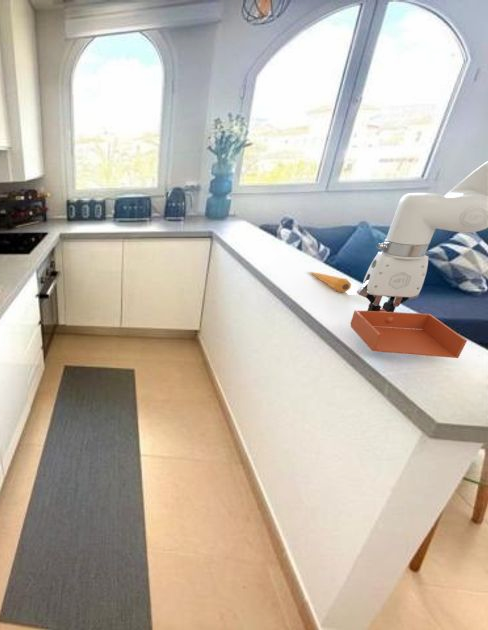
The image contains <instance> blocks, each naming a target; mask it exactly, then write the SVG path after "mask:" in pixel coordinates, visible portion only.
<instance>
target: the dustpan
mask: <svg viewBox="0 0 488 630" xmlns="http://www.w3.org/2000/svg"><path fill="white" fill-rule="evenodd" d="M369 305H370V303H368V305H367V306H368V307H369ZM379 306H381V305H380V304H379ZM349 325H350V328H351V329H352V330H353V331H354V332H355V334H357V336H358V337H359V338H360V339H361V340H362V342H364V344H365V345H366V346H367V347H368V349H370V351H372V352H373V353H374V352H375V353H389V354H399V355H402V354H403V355H413V356H425V357H438V358H452V359H459V357H460V356H461V354H462V352H463V349H464V348H465V346H466V344H467V341H468V339H467V338H465V337H463V336H462V335H460V334H459V333H458V332H456V331H455V330H454V329H452V328H451V327H449V326H448V325H446V324H445V323H444V322H442V321H441V320H439V319H438V318H436V317H435V316H434V315H432V314H431V313H417V312H401V311H400V312H398V311H394V312H387V311H386V310H385V309H383V306H381V308H380V311H367V310H360V309H359V310H358V309H355V310H354V311H353V313H352V316H351V320H350V323H349Z"/></svg>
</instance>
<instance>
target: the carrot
mask: <svg viewBox="0 0 488 630" xmlns="http://www.w3.org/2000/svg"><path fill="white" fill-rule="evenodd" d="M310 273H311V274H312V275H313V276H314V277H315V278H316V279H318V280H319V281H321V282H322V283H324V284H325V285H327V286H329V287H330V288H331V289H333V290H335V291H336V292H339V293H341V292H342V293H344V292H345V293H346V292H348V291H349V290H350V289H351V286H352V283H351V282H350V281H349V280H348V279H347V278H345V277H344V278H343V277H338V276H336V275H329V274H324V273H321V272H311V271H310Z"/></svg>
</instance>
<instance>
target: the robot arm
mask: <svg viewBox="0 0 488 630" xmlns="http://www.w3.org/2000/svg"><path fill="white" fill-rule="evenodd" d="M437 229H438V230H443V231H444V230H445V231H450V232H454V233H455V232H456V233H463V234H464V233H466V234H467V233H468V234H469V233H476V232H481V231H484V230H486V229H488V160H487V161H486V162H484V163H483V164H482V165H480V166H479V167H477V168H476V169H474V170H473V171H472V172H470V173H469V174H468V175H467V176H466V177H465V178H463V179H462V180H461V181H460V182H458V183H457V184H456V185H455V186H454V187H452V188H451V189H450V190H449V191H447V193H445V195H444V194H441V193H434V192H433V193H432V192H411V193H407V194H405V195H403V196H402V197H400V199H399V201H398V204H397V207H396V210H395V213H394V214H393V218H392V221H391V224H390V226H389V228H388V232H387V234H386V238H385V239H384V240H383V242H381V243H377V245H376V249H377V250H381V251H378V252H377V254H376V255H375V257H374V258H373V259H372V262H371V263H370V265H369V267H368V269H367V271H366V273H365V276H364V278H363V282H362V285H360V287H359V288H358V289H357V290H356V294H358V295H359V296H360V297H363V298H366V299H367V300H368V301H369V304H370V305H369V304H368V305H369V306H368V307H367V310H366V311H380V308H381V307H382V308H383V309H385V310H386V311H387V312H395V310H396V308H398V307H400V305H401V304H403V303H404V302H407V301H408V300H409V301H410V300H414V299H417V298H419V296H420V292H421V290H422V288H423V286H424V282H425V280H426V279H425V278H426V275H427V272H428V267H429V266H428V265H429V256H428V255H426V253H427V250H428V248H429V246H430V243H431V240H432V239H433V236H434V234H435V231H436V230H437ZM383 297H388V300H387V301H384V303H383V305H380V304H381V301H382V299H383ZM379 305H380V306H379Z"/></svg>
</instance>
